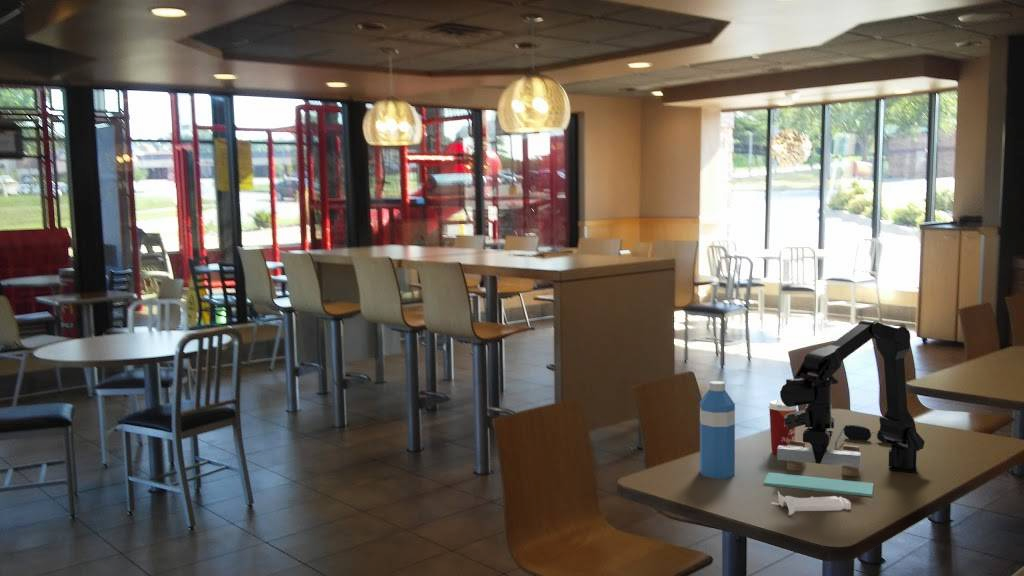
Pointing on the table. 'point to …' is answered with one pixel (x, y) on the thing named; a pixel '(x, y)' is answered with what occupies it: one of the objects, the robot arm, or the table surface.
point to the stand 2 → (847, 469)
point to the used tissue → (813, 503)
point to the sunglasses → (859, 433)
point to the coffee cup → (780, 424)
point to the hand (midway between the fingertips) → (818, 461)
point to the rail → (829, 457)
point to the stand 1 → (794, 464)
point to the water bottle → (717, 432)
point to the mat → (819, 484)
